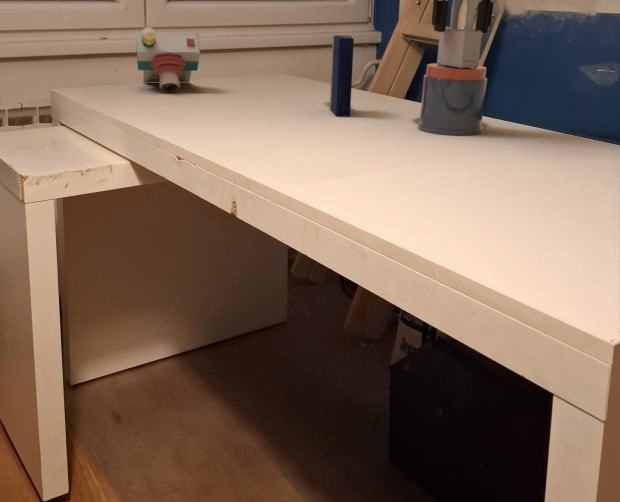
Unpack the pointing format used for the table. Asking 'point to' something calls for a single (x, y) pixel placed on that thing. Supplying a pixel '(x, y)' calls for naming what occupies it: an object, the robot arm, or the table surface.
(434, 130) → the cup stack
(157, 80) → the toy camera
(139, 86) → the table surface
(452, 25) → the padlock
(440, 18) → the robot arm
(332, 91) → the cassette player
